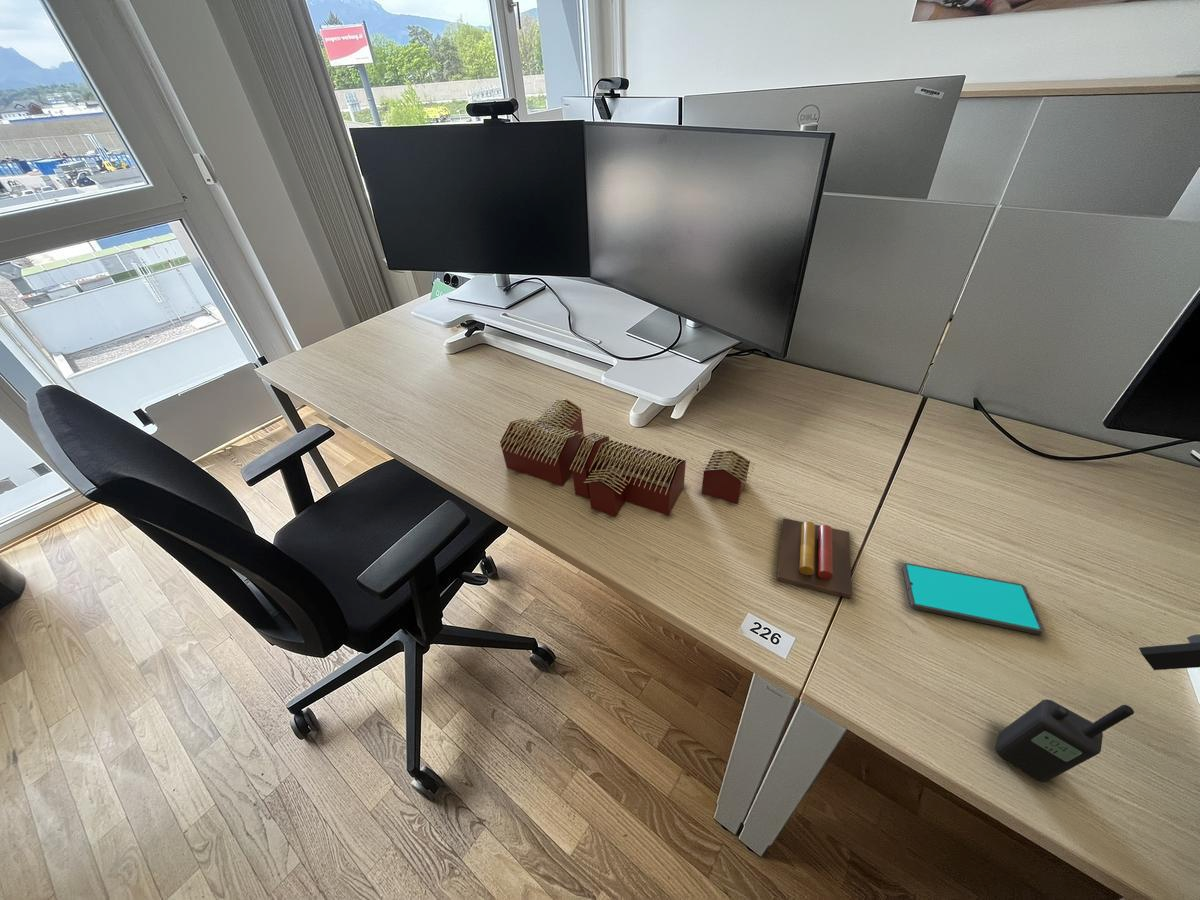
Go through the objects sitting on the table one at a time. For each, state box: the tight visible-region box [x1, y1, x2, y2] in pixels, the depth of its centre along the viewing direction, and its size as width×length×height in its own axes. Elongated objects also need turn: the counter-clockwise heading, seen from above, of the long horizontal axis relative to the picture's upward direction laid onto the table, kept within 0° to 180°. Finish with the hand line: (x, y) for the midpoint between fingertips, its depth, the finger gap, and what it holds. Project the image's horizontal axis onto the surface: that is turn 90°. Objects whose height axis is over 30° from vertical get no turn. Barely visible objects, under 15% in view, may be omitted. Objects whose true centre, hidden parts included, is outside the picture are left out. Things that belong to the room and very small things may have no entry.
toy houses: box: [498, 398, 756, 518], centre depth 85 cm, size 45×20×10 cm, turn 62°
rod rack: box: [776, 517, 853, 600], centre depth 71 cm, size 10×12×3 cm
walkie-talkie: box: [995, 698, 1135, 783], centre depth 45 cm, size 5×3×15 cm
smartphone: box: [902, 562, 1045, 635], centre depth 64 cm, size 7×1×15 cm
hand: (1182, 732), depth 40 cm, fingers open, 13 cm apart
